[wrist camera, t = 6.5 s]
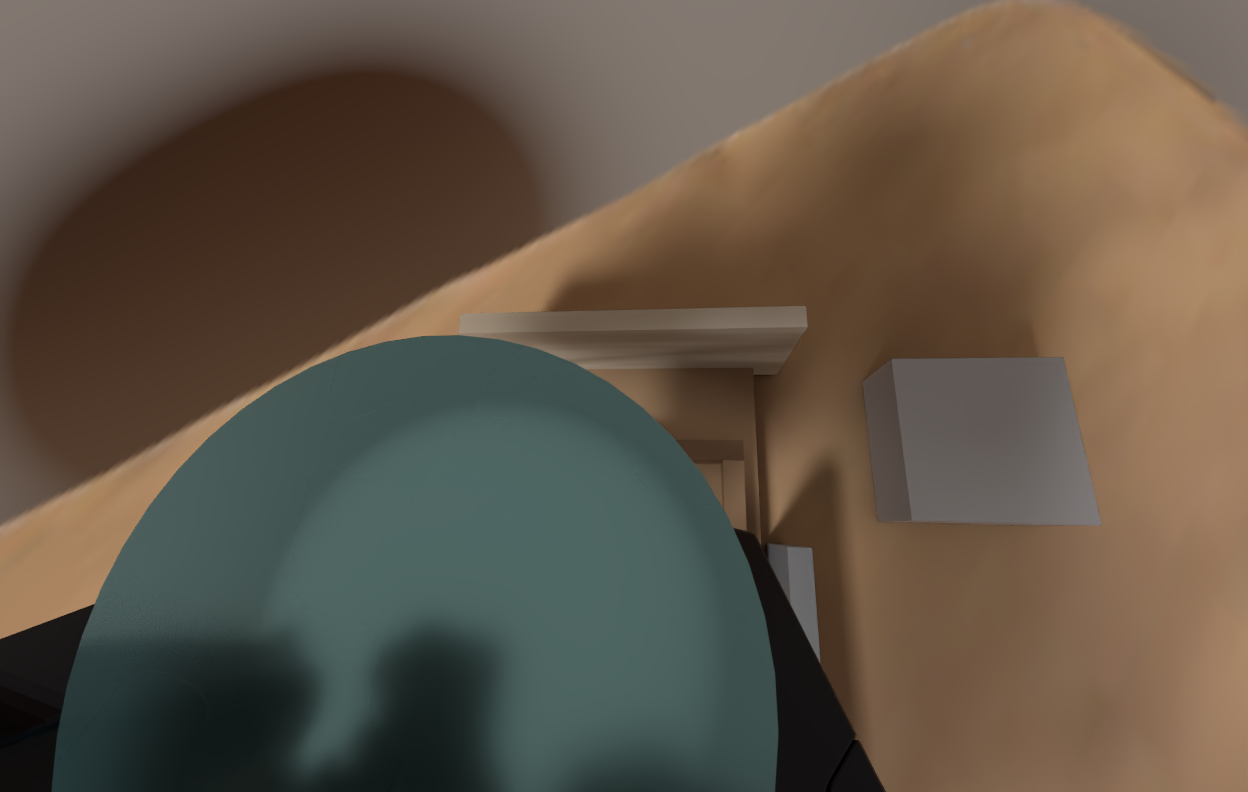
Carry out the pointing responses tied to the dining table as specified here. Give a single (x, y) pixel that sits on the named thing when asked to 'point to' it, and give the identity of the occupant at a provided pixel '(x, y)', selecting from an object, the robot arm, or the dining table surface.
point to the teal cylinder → (428, 597)
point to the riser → (977, 443)
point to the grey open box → (797, 584)
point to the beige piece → (676, 375)
